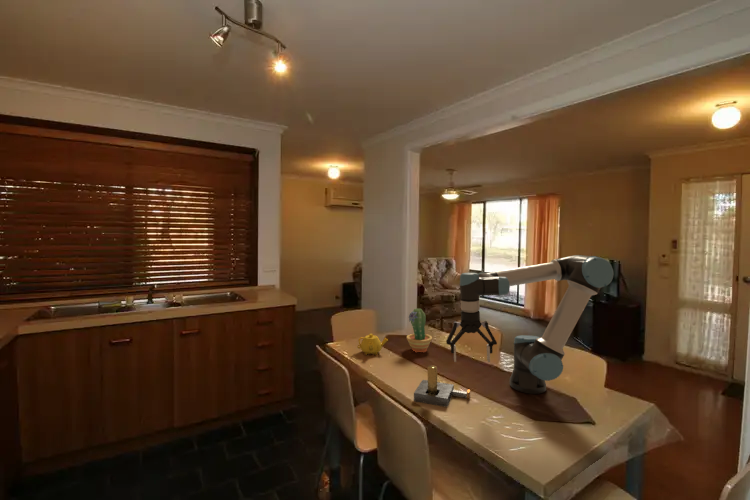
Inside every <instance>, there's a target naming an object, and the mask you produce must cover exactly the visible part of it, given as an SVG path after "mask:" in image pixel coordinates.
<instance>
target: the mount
mask: <svg viewBox="0 0 750 500" xmlns="http://www.w3.org/2000/svg"><path fill="white" fill-rule="evenodd" d="M454 387H455V385H454V384H453V383H452V384H451V383H446V382H439V381H437V395H432V394H428V379H422V380H421V381H420V383H419V385H418V386H417V388H416V389H415V391H414V392H413V402H418V403H422V404H428V405H433V406H439V407H444V408H448V407H449V404H450V402H451V400H452V397H453V396H452V390H455V388H454Z"/></svg>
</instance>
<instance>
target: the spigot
mask: <svg viewBox="0 0 750 500" xmlns="http://www.w3.org/2000/svg"><path fill="white" fill-rule="evenodd" d="M427 380H428V394H432V395H437V382H438V367H437V365H431V364H430V365H428V366H427Z"/></svg>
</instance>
